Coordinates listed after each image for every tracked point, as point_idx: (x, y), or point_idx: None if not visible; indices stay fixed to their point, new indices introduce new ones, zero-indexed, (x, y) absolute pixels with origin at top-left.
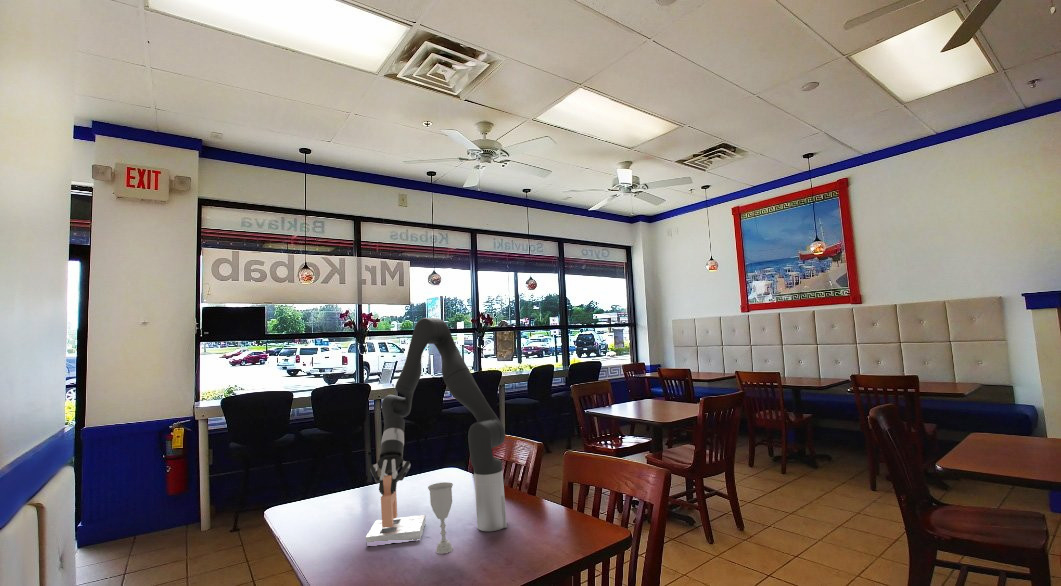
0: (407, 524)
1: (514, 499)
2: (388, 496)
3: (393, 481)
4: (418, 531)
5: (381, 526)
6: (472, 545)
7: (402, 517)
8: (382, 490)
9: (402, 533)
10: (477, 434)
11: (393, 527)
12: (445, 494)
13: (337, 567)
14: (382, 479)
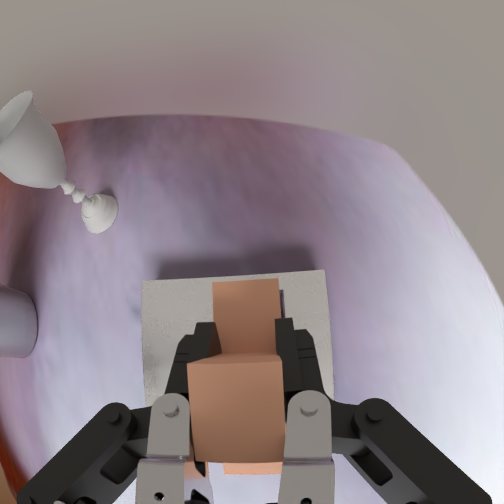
0: None
1: (11, 459)
2: (228, 290)
3: (184, 376)
4: (146, 280)
5: None
6: (54, 228)
7: None
8: (277, 318)
9: (196, 278)
10: None
11: None
12: (15, 119)
13: (346, 169)
14: (298, 400)
